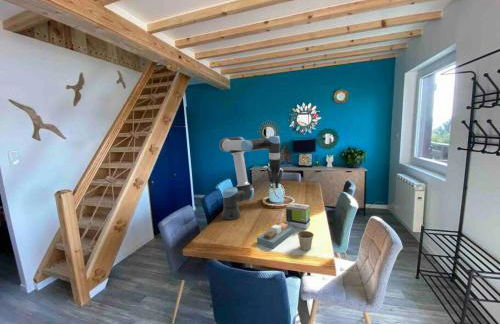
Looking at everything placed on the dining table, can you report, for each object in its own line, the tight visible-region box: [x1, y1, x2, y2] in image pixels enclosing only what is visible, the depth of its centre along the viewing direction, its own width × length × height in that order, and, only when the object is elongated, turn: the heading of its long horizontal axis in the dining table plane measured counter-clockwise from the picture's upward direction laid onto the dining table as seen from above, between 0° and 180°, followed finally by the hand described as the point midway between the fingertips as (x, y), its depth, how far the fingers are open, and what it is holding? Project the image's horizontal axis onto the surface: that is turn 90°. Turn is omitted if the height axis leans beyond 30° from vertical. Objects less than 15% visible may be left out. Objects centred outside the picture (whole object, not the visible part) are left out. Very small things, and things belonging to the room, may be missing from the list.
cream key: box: [270, 224, 282, 235], centre depth 153 cm, size 5×5×4 cm
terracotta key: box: [278, 222, 288, 230], centre depth 160 cm, size 5×5×4 cm
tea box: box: [285, 202, 311, 230], centre depth 172 cm, size 15×10×15 cm, turn 59°
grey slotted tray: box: [256, 222, 295, 250], centre depth 154 cm, size 12×26×4 cm, turn 141°
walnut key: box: [264, 230, 275, 240], centre depth 147 cm, size 5×5×4 cm
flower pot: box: [297, 230, 315, 251], centre depth 139 cm, size 9×9×9 cm
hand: (275, 192), depth 164 cm, fingers closed
